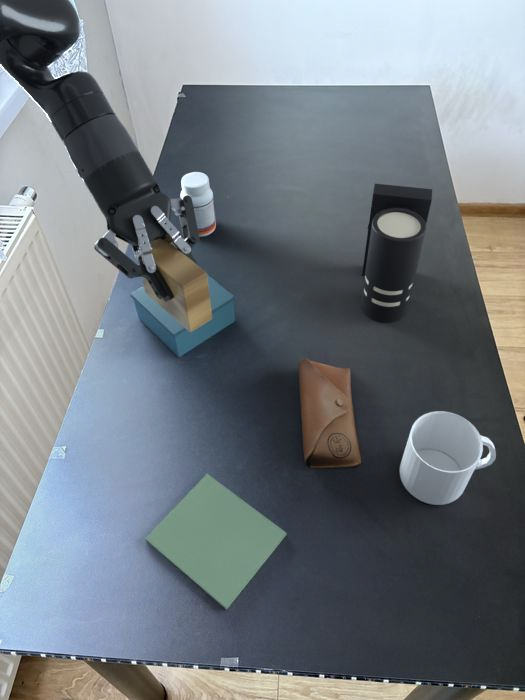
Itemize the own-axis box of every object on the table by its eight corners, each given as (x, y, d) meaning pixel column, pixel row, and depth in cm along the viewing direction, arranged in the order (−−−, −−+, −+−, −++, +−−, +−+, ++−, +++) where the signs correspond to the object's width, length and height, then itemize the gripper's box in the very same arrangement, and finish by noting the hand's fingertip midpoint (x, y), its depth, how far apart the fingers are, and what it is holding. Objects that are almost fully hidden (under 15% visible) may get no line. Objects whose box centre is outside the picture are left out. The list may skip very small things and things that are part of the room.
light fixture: (353, 318, 102) (364, 236, 89) (362, 265, 111) (372, 183, 97) (411, 326, 101) (431, 244, 87) (415, 271, 109) (434, 189, 96)
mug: (399, 502, 80) (411, 468, 73) (398, 444, 86) (408, 408, 79) (491, 511, 79) (512, 478, 72) (483, 452, 85) (502, 416, 78)
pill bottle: (187, 218, 121) (180, 169, 113) (217, 218, 121) (212, 169, 112) (183, 237, 117) (175, 189, 109) (214, 238, 117) (209, 189, 108)
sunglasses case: (365, 465, 84) (344, 444, 79) (321, 479, 86) (298, 460, 82) (350, 365, 95) (331, 342, 91) (311, 380, 98) (291, 358, 94)
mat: (226, 610, 72) (226, 608, 72) (145, 540, 78) (145, 538, 78) (286, 534, 78) (286, 532, 78) (207, 475, 84) (207, 473, 83)
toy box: (237, 321, 103) (234, 296, 98) (178, 359, 98) (173, 334, 93) (193, 284, 109) (189, 259, 104) (136, 318, 104) (130, 293, 99)
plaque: (212, 319, 76) (207, 272, 70) (190, 333, 75) (182, 286, 69) (167, 279, 81) (158, 233, 75) (145, 292, 80) (134, 245, 74)
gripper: (62, 178, 64) (145, 316, 68) (169, 131, 70) (240, 260, 74) (52, 198, 71) (128, 322, 74) (150, 153, 77) (216, 270, 80)
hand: (183, 290), depth 74 cm, fingers closed on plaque, 3 cm apart
